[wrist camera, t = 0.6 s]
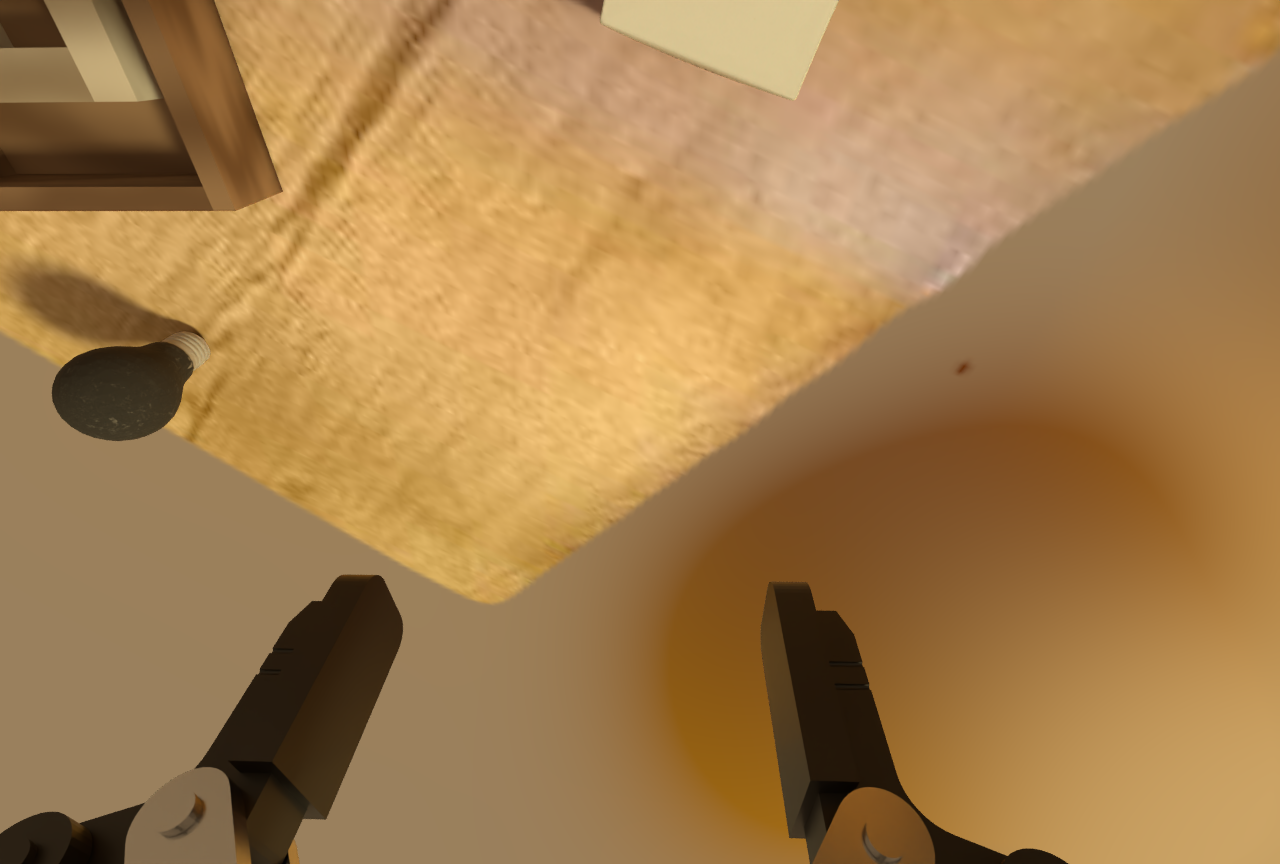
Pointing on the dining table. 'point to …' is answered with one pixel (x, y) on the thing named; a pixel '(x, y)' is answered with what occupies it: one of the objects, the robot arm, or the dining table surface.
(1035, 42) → the dining table surface
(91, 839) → the robot arm
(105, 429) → the light bulb
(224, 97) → the box
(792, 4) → the supplement box
